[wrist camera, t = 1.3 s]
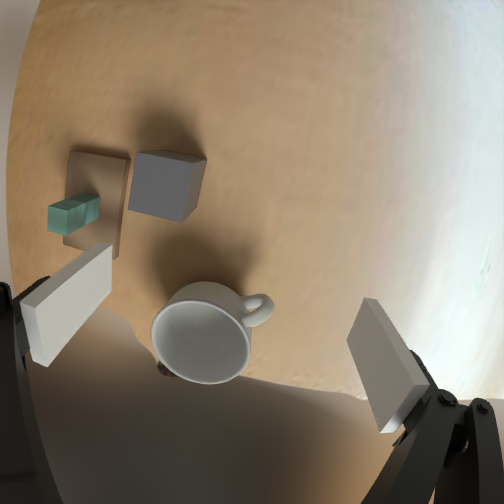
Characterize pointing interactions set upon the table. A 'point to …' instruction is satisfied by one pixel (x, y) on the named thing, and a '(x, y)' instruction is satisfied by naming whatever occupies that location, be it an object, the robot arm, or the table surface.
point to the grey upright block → (166, 184)
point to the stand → (91, 201)
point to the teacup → (208, 331)
